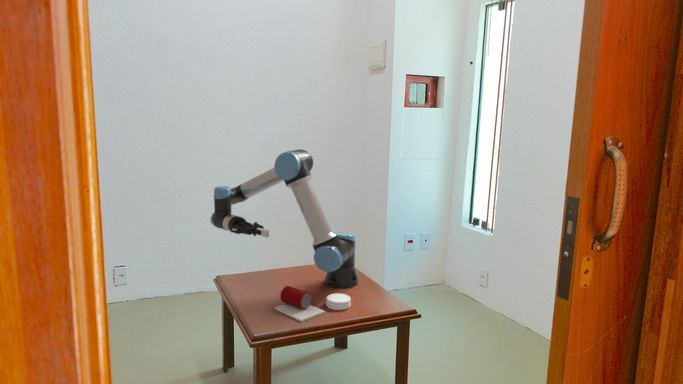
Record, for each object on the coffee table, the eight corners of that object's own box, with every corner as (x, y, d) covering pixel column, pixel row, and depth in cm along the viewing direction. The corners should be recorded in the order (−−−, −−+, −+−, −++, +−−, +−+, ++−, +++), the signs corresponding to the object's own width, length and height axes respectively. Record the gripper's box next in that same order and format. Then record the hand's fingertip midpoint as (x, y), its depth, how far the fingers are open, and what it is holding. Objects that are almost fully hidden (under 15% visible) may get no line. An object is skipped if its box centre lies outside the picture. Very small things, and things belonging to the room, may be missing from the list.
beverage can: (281, 305, 196) (303, 313, 188) (277, 292, 193) (298, 300, 185) (292, 294, 200) (314, 302, 193) (288, 282, 197) (309, 289, 190)
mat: (274, 309, 191) (274, 307, 191) (298, 301, 200) (298, 299, 200) (301, 322, 180) (301, 320, 180) (324, 313, 189) (324, 311, 188)
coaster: (355, 308, 195) (355, 299, 194) (332, 312, 190) (332, 303, 189) (343, 299, 203) (343, 291, 203) (321, 303, 199) (322, 295, 198)
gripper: (247, 230, 222) (280, 239, 206) (222, 234, 213) (254, 245, 196) (247, 213, 221) (279, 222, 204) (222, 218, 211) (254, 227, 195)
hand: (267, 233), depth 200 cm, fingers closed
